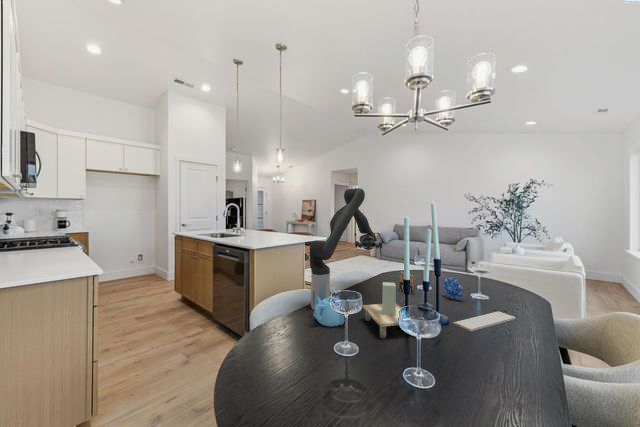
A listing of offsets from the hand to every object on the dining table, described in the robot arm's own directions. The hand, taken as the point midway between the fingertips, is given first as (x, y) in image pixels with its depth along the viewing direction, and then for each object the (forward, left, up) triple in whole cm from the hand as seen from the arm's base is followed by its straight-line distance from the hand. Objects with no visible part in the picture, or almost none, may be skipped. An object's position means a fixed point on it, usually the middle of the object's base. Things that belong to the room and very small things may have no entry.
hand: (368, 246), depth 139 cm
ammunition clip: (+30, +15, -30) cm, 45 cm away
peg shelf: (-1, -27, -30) cm, 40 cm away
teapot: (-23, -17, -30) cm, 42 cm away
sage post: (-1, -27, -24) cm, 36 cm away
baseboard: (+43, -29, -31) cm, 60 cm away
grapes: (+48, -1, -30) cm, 56 cm away
